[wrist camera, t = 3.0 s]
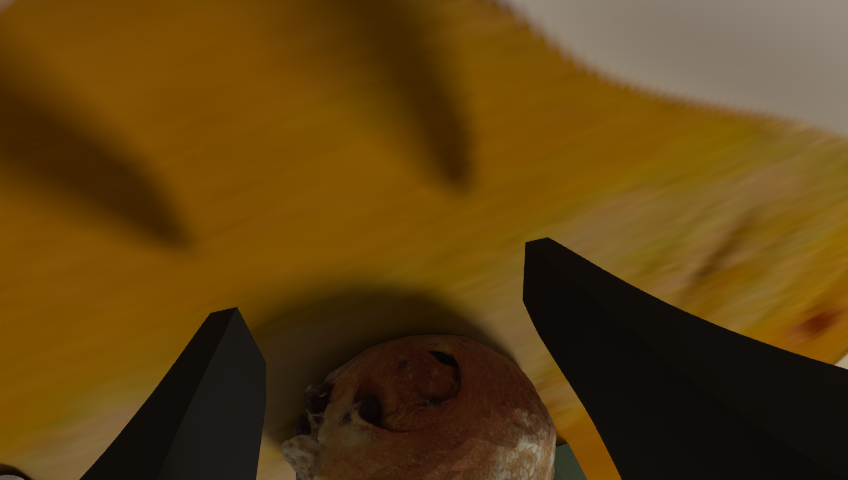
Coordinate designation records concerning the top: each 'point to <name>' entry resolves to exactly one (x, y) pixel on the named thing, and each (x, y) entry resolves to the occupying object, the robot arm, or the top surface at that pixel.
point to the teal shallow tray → (566, 464)
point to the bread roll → (424, 417)
